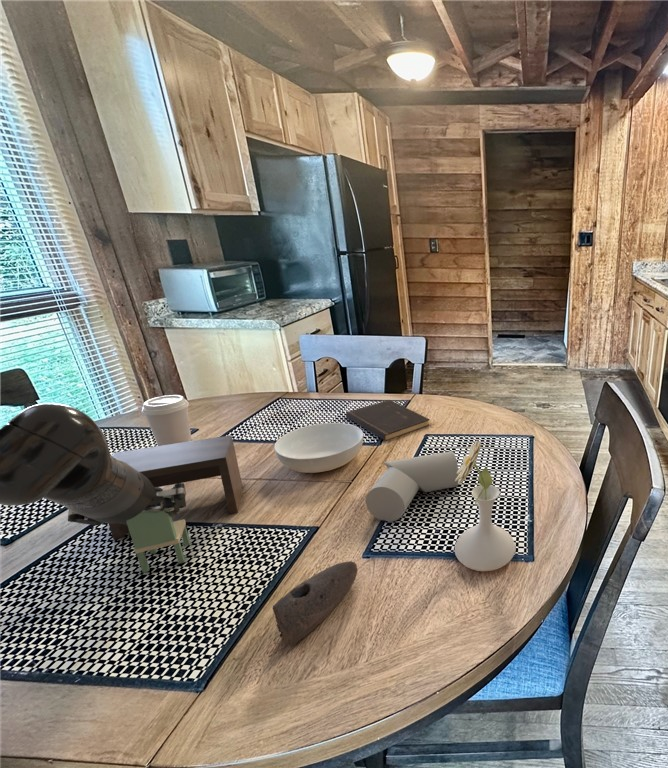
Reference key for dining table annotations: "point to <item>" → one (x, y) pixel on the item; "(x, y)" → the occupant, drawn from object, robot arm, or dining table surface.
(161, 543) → the chair
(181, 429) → the coffee cup
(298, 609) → the perforated stone tool
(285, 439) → the serving bowl
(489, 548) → the flower in vase
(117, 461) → the robot arm
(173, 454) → the desk
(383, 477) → the l-shaped cylinder
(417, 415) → the hardcover book
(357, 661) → the dining table surface
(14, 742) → the dining table surface
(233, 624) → the dining table surface
